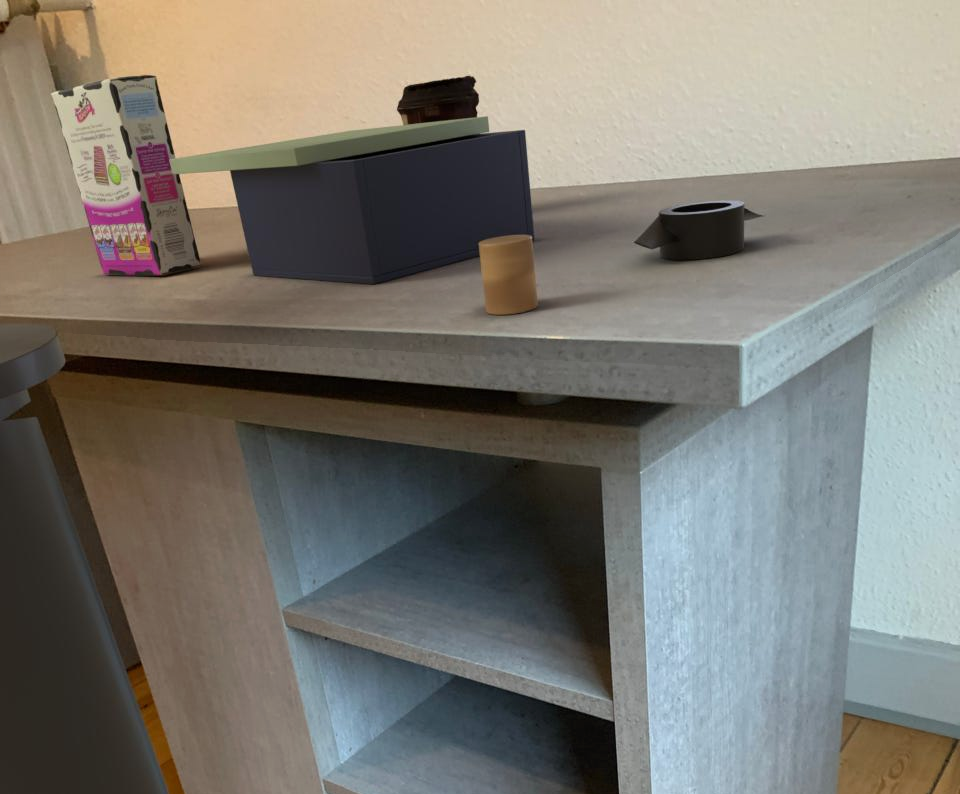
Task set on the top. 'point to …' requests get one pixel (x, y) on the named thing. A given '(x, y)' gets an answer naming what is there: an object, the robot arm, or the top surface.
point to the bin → (385, 209)
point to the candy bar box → (127, 176)
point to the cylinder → (508, 274)
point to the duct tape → (698, 230)
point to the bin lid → (329, 146)
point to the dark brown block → (439, 101)
